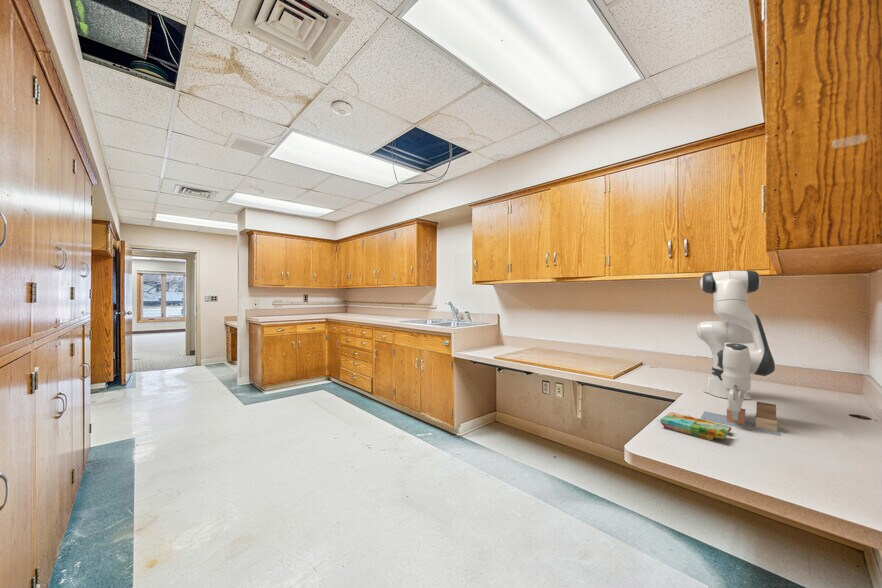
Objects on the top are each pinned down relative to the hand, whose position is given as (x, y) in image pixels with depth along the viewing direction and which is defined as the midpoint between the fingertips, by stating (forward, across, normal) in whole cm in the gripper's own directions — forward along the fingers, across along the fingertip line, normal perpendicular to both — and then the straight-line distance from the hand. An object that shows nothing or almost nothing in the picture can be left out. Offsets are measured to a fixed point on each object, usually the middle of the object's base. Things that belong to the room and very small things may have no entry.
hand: (735, 416), depth 140 cm
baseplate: (+3, -1, -1) cm, 3 cm away
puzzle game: (+4, -21, +11) cm, 24 cm away
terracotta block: (+2, 0, 0) cm, 2 cm away
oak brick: (+2, 0, -9) cm, 9 cm away
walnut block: (-2, 0, -9) cm, 9 cm away
